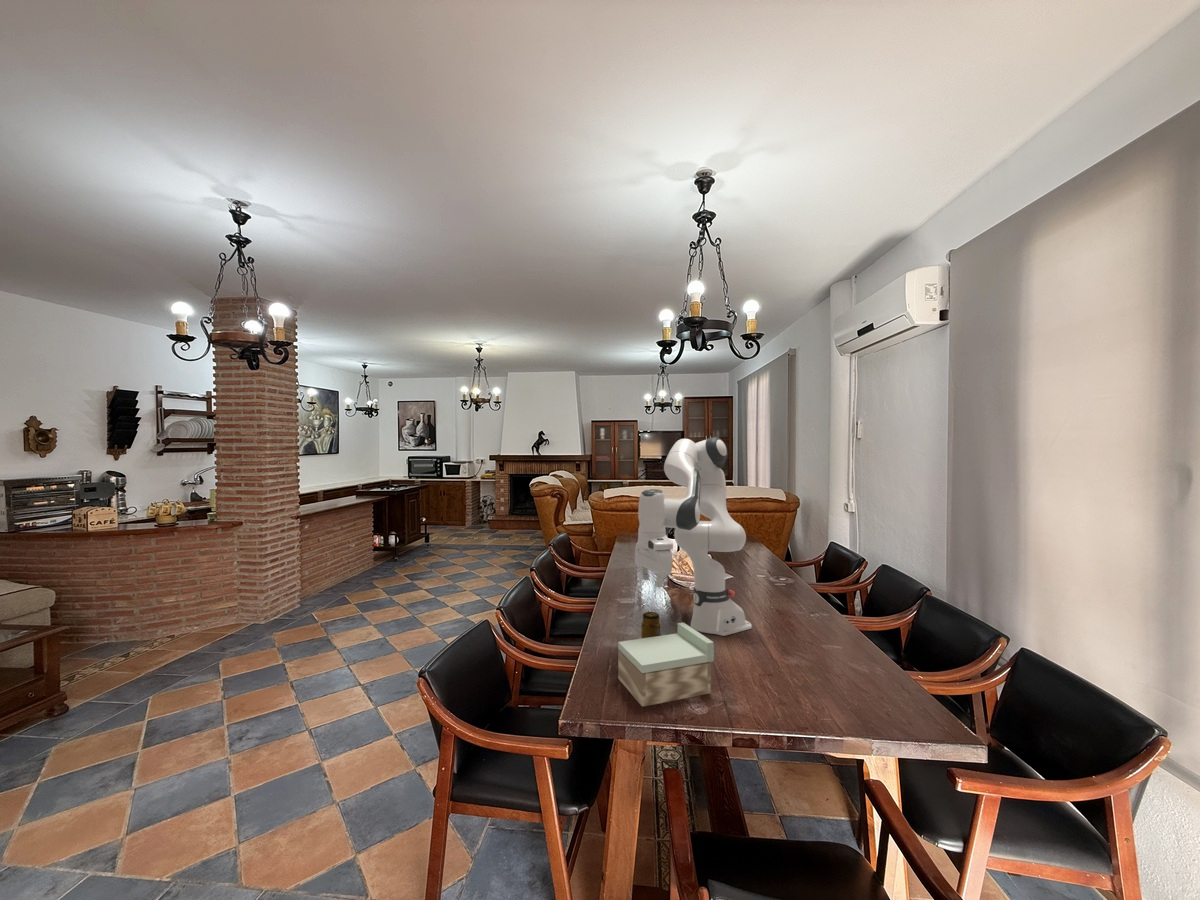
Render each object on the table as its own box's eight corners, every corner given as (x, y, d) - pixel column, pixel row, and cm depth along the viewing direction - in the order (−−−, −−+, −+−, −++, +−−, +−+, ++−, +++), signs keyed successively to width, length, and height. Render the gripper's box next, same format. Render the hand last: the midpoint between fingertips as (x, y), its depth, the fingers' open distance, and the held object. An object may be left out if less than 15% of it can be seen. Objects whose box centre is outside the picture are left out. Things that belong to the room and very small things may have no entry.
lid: (683, 639, 139) (683, 622, 140) (713, 661, 124) (713, 642, 125) (618, 649, 132) (618, 631, 132) (642, 673, 117) (642, 653, 117)
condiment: (653, 645, 156) (653, 609, 156) (669, 654, 148) (669, 616, 149) (635, 650, 152) (635, 612, 152) (650, 659, 145) (650, 620, 145)
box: (680, 667, 139) (680, 640, 139) (710, 693, 124) (710, 662, 124) (618, 678, 132) (618, 650, 132) (642, 706, 117) (642, 674, 117)
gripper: (630, 535, 160) (630, 576, 159) (657, 545, 140) (657, 592, 140) (646, 535, 162) (646, 575, 161) (675, 544, 142) (675, 590, 142)
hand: (651, 583), depth 150 cm, fingers open, 8 cm apart
